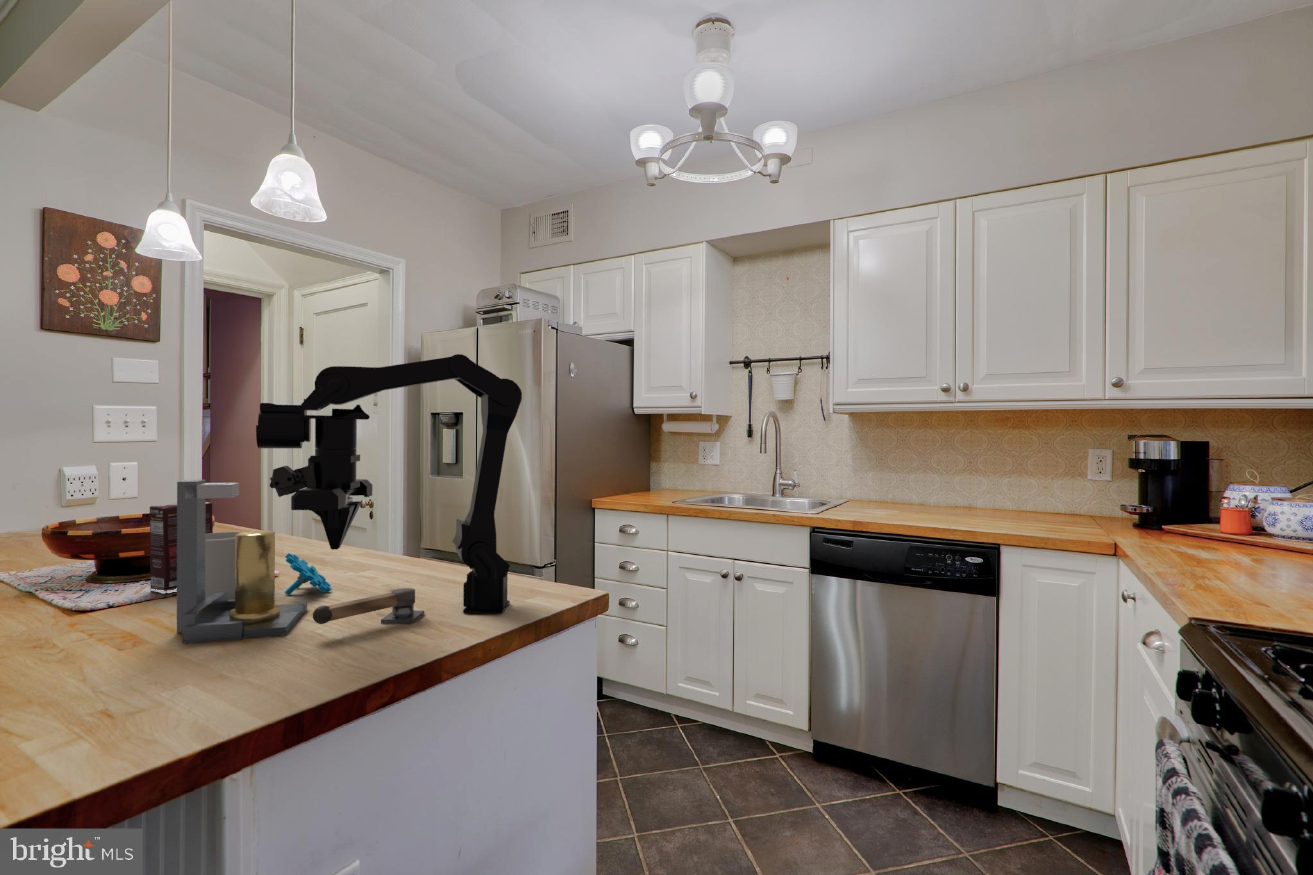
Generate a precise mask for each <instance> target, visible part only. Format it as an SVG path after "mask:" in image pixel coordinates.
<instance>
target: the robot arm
mask: <svg viewBox="0 0 1313 875" xmlns="http://www.w3.org/2000/svg"><path fill="white" fill-rule="evenodd" d="M449 380H455V381H456V382H458V383H459V384H461V386H463V387H465V388H466V390H468V391H470V393H472V394H474V395H475V396H477V397H478V398H480V415H481V416H480V417H481V423H482V424H481V425H482V435H481V441H480V446H479V447H480V448H479V452H478V453H479V454H478V459H477V464H476V470H475V476H474V482H473V487H472V495H471V500H470V505H469V510H468V513H467V515H466V517H465V519H464V520H463V519H460V518H456V519H455V520H456V521H455V523H456V524H455V529H456V531H455V535H454V537H453V539H452V543H453V544H454V547H455V550H456V551H455V552H456V553H457V556H458V557H459V558H460V559H461V560H462V562H463V563H464V564H465V565H466V566H467V567H468V568H469V569H470V570H471V571H470V572H468V573H467V574H466V581H465V582H464V583H463V589H462V592H463V595H462V596H463V599H462V600H463V603H462V604H463V606H462V607H463V608H464V609H463V610H462V613H464V614H488V615H489V614H491V615H493V614H496V615H499V614H502V613H503V612H504V611H505V610H506V609H507V607H508V606H509V605H510V604H511V600H509V599H508V576H509V574H508V572H509V570H510V567H511V565H510V563H508V562H507V561H506V560H505V559H504V558H503V557H502V556H501V555H500V554H499V553H498V552H497V528H496V527H497V526H496V520H495V519H496V518H495V513H496V512H495V510H496V505H497V500H498V493H499V488H500V482H501V475H502V469H503V463H504V462H503V461H504V457H505V451H506V444H507V439H508V434H509V431H510V430H511V427H512V426H513V423H514V420H515V419H516V417H517V414H518V412H519V411H518V410H519V408H520V406H521V404H522V400H523V393H522V389H521V388H520V386H519V385H518V383H516V382H515V381H514V380H512V379H509V378H500V377H499V376H498V375H496V374H494V373H493V372H491V371H490V370H488V369H487V368H484V367H483V366H481V365H479V364H477V363H476V362H474V361H473V360H471V359H470V358H469V357H468V356H467V355H464V354H463V353H462V354H461V353H456V354H453V355H451V356H447V357H439V358H433V359H427V360H420V361H413V362H407V363H401V364H400V363H398V364H393V365H386V366H381V367H380V366H379V367H378V366H377V367H376V366H375V367H374V366H369V367H368V366H349V365H348V366H343V365H342V366H341V365H336V366H335V365H334V366H329V367H325V368H324V369H322V370H321V371H319V373H318V374H317V375H316V377H315V380H314V389H313V391H311V393H310V394H309V395H308V396H307V397H306V398H304V399H303V401H302V403H300V404H277V403H272V402H261V403H259V412H258V417H257V424H255V425H256V426H255V436H256V438H255V440H256V446H257V449H303V445H304V444H303V443H305V442H307V443H310V442H311V437H312V436H311V435H312V425H311V424H312V421H311V420H312V419H314V422H315V423H314V428H315V429H314V440H315V441H314V454H313V455H310V457H308V459H307V465H306V466H303V467H299V468H296V469H293V468H291V467H290V466H289V465H283V466H280V467H277V468H273V470H272V476H271V477H269V479H270V483H269V488H271V489H275V491H276V493H277V496H278V498H282V497H283V496H289V495H291V497H290V499H291V500H290V504H291V506H290V509H291V510H292V511H309V512H310V511H311V512H313V513H314V514H315V515H317V516H318V517H319V518H320V521H321V523H322V525H323V529H324V532H325V536H326V539H327V542H328V545H329V548H330V549H331V550H338V549H340V548H341V546H342V544H343V542H344V540H345V538H346V535H347V533H348V530H349V529H350V528H351V525H352V523H353V521H354V519H355V517H356V515H357V513H358V511H359V509H360V507H361V505H362V503H363V501H354V500H353V497H354V496H356V497H357V496H358V497H359V496H363V497H364V498H370V497H372V496H373V484H372V483H371V482H370V481H369V480H368V479H365V478H362V479H360V478H358V479H357V462H360V461H361V454H357V429H358V427H357V425H358V424H357V422H358V421H357V420H361V421H362V420H363V421H365V420H369V419H370V415H369V414H368V413H367V412H365V411H364V410H363V408H362V406H361V405H360V404H356V405H355V406H354V407H353V408H332V409H331V410H332V411H331V415H324V414H323V415H322V414H321V415H319V414H317V415H313V414H308V411H310V412H311V411H317V412H318V411H321V410H324V409H325V408H326V407H329V406H330V405H334V406H342V405H346V404H348V403H352V402H355V401H358V400H360V399H364V398H366V397H370V396H373V395H374V394H377V393H380V392H382V391H388V390H394V389H401V388H407V387H408V388H409V387H412V386H420V385H426V384H432V383H437V382H444V381H449ZM292 494H293V495H292ZM352 496H353V497H352Z"/></svg>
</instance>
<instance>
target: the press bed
mask: <svg viewBox="0 0 1313 875" xmlns="http://www.w3.org/2000/svg"><path fill="white" fill-rule="evenodd" d="M239 496H240V482H207V481H206V479H185V480H180V481H177V482H176V504H177V592H176V634H180V633H181V635H182V636H181V638H182V641H181V642H182V643H183V644H198V643H212V642H225V641H238V640H243V639H252V638H265V637H278V636H279V637H280V636H286V635H287V634H288V633H289V632H290V631H291V630H292V629H293V627H294V626H295V625H296V624H297V622H299V620H300V619H301V618H302V617H303V616H304V614H305V613H307V610H308V602H301V603H300V602H298V603H297V602H296V603H284V604H282V603H281V604H280V603H279V604H278V605H279V606H280V615H279V616H278V617H276V618H274V619H271V620H267V621H263V622H257V623H249V624H245V621H229V612H230V611H231V610H233V609H235V599H229V600H228V591H217V592H215V593H214V594H212V595H211V596H209V597H208V598H206V599H205V508H206V502H207V501H206V499H233V498H235V497H239Z"/></svg>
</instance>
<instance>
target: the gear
mask: <svg viewBox="0 0 1313 875" xmlns="http://www.w3.org/2000/svg"><path fill="white" fill-rule="evenodd" d="M284 557H285V562H286V563H288V565H289V564H290V565H289V567H290V568H291V570H293V571H294V572H295V571H296V572H297V573H299V574H298V576H297V579H296V580H295V581H294V582H293V584H291V585H290V586H289V587H288V588H286V590H285V591H284V594H285V595H286V596H291V595H292V593H293V592H295V591H296V590H298V589H299V588H300V587H301V586H302V585H303V584H306V583H308V582H309V584H310V586H312V587H314V588H316V587H318V590H320V592H323V593H329V592H330V591H331V590H332V588H331V584H330V582H328V581H327V579H326V577H325V576H323V575H321V574H320V573H319V572H318V570H317V567H315V565H308V564H309V563H308V562H307V561H306V560H304V559H303V558H302V559H301V560H300V557H299V556H298V555H296V554H295V553H293V554H292V553H291V552H288V553H287V554H286V555H285V556H284Z"/></svg>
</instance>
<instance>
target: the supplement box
mask: <svg viewBox="0 0 1313 875" xmlns="http://www.w3.org/2000/svg"><path fill="white" fill-rule="evenodd" d="M213 522H214V521H213V502H211V501H206V508H205V534H209V533H214V530H213V524H214V523H213ZM149 551H150V553H149V554H150V555H149V559H150V567H149V568H150V570H149V571H150V572H149V573H150V578H149V579H150V582H149V583H150V590H151V589H155V590H156V589H157V590H164V591H167V590H174V589H176V588H177V503H171V504H161V505H151V506H149Z"/></svg>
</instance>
